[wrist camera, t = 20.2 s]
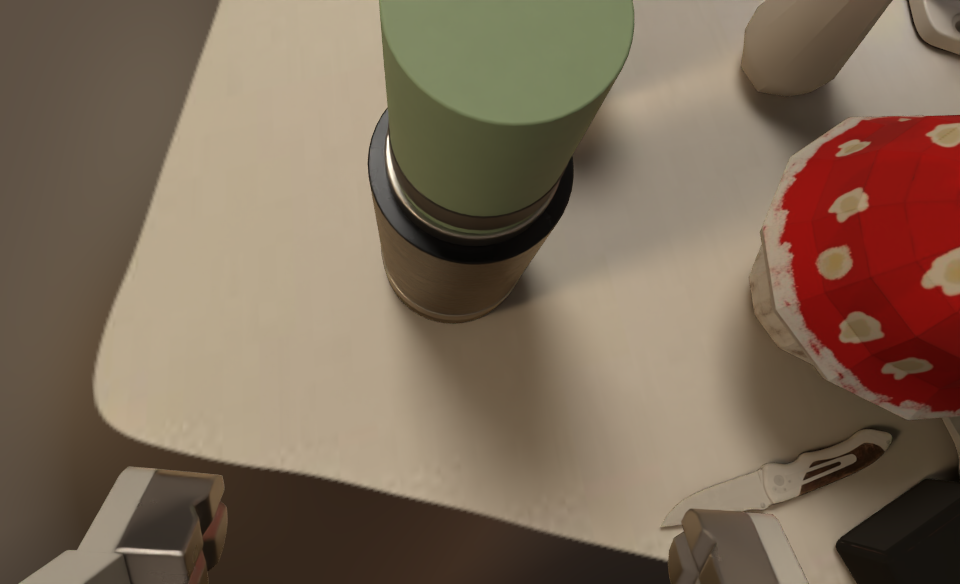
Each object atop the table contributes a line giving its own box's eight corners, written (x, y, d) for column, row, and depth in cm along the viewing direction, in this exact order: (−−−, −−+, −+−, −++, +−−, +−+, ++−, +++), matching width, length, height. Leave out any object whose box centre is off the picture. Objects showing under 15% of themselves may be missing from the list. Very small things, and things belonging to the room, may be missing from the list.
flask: (542, 233, 37) (617, 117, 23) (479, 349, 35) (520, 298, 21) (425, 169, 37) (432, 16, 23) (357, 282, 35) (321, 188, 22)
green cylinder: (588, 126, 23) (679, -31, 15) (511, 266, 22) (566, 175, 14) (443, 46, 23) (458, -151, 15) (357, 181, 22) (325, 43, 14)
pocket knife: (886, 419, 36) (906, 455, 35) (876, 421, 36) (895, 457, 36) (654, 505, 34) (670, 546, 33) (649, 506, 34) (665, 546, 34)
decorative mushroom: (928, 206, 39) (1235, 73, 24) (917, 446, 36) (1260, 458, 22) (699, 156, 38) (875, -13, 24) (669, 397, 35) (849, 374, 21)
